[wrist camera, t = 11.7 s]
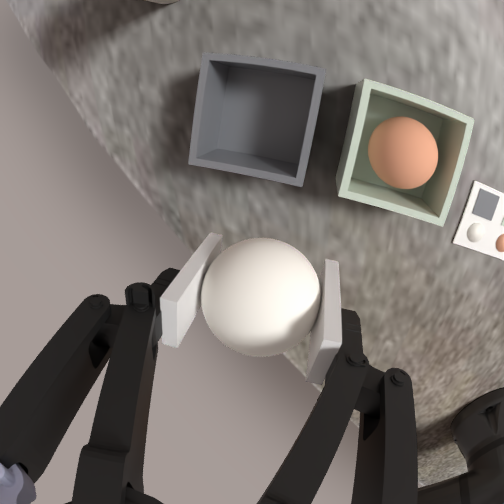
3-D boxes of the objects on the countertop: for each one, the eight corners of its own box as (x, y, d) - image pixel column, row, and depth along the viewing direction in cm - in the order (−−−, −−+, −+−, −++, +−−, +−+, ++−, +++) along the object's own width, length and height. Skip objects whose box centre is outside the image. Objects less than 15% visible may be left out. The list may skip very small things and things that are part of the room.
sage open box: (423, 203, 27) (442, 226, 22) (335, 178, 28) (338, 196, 23) (447, 115, 23) (474, 119, 17) (355, 84, 24) (364, 78, 19)
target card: (508, 261, 27) (509, 262, 27) (452, 242, 28) (453, 243, 28) (530, 206, 24) (532, 207, 23) (474, 180, 25) (475, 181, 24)
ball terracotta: (414, 187, 26) (436, 207, 21) (355, 169, 27) (366, 186, 21) (430, 127, 23) (457, 133, 18) (370, 106, 24) (385, 107, 19)
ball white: (308, 320, 19) (296, 393, 14) (218, 295, 20) (181, 360, 15) (335, 234, 17) (334, 298, 11) (228, 209, 17) (183, 259, 12)
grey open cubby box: (306, 171, 28) (302, 187, 23) (212, 152, 30) (188, 164, 24) (325, 76, 24) (326, 68, 19) (225, 61, 25) (203, 52, 20)
